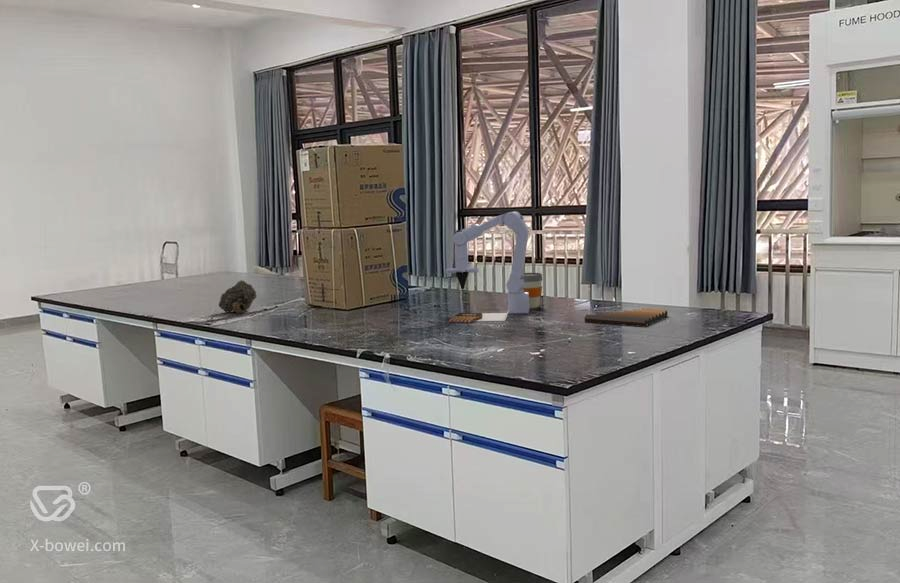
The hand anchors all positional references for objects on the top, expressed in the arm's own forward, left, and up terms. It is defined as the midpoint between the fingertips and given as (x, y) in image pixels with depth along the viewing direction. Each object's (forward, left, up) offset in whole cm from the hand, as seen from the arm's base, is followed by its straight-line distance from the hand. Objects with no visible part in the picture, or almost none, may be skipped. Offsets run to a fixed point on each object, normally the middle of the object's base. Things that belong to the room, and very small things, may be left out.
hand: (462, 288), depth 332 cm
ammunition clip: (-6, +17, -9) cm, 20 cm away
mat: (-14, +16, -10) cm, 24 cm away
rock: (+112, -10, -11) cm, 113 cm away
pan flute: (-70, +24, -11) cm, 75 cm away
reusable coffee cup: (-29, -11, -11) cm, 33 cm away
